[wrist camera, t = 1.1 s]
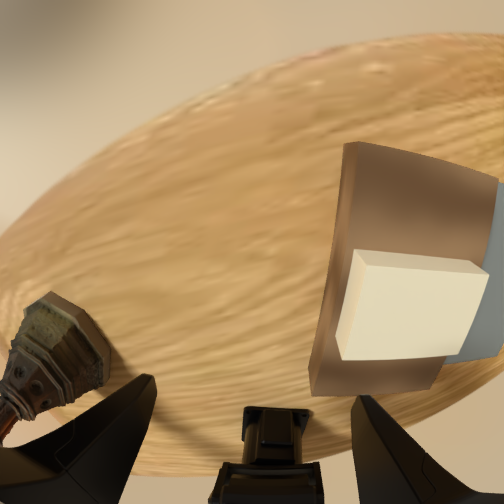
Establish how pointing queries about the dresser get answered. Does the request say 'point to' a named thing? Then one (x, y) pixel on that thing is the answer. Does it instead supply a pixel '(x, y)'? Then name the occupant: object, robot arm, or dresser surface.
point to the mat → (488, 297)
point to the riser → (395, 250)
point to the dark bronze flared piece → (51, 361)
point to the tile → (407, 306)
